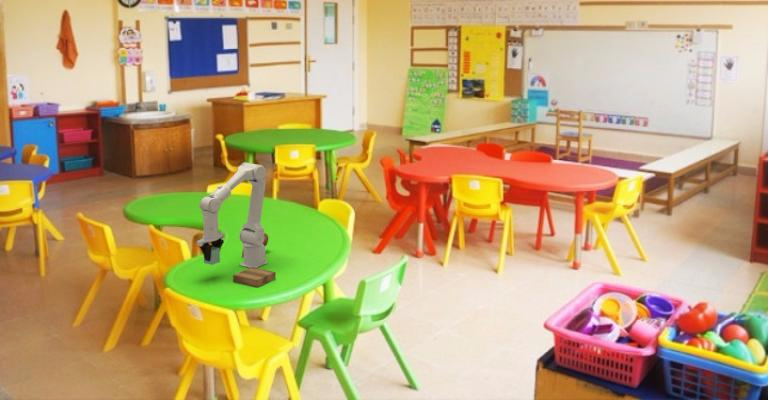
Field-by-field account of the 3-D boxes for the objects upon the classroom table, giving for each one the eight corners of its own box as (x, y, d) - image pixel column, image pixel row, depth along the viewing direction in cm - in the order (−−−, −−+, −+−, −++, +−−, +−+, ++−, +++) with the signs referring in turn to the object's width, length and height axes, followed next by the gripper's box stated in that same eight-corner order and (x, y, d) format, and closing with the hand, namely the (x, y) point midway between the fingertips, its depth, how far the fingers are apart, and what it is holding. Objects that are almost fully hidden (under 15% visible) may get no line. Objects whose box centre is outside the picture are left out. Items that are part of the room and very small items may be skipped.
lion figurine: (264, 249, 360) (263, 230, 358) (271, 252, 357) (271, 233, 355) (238, 256, 350) (237, 237, 347) (245, 259, 346) (245, 239, 344)
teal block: (211, 260, 323) (211, 246, 322) (220, 262, 321) (219, 247, 319) (203, 263, 319) (203, 248, 318) (212, 264, 317) (212, 250, 316)
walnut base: (252, 273, 328) (252, 266, 327) (275, 279, 322) (275, 272, 322) (233, 282, 318) (233, 274, 317) (256, 287, 312) (256, 280, 311)
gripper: (215, 221, 324) (216, 252, 328) (190, 229, 312) (191, 261, 315) (228, 223, 321) (229, 255, 324) (204, 231, 309) (205, 265, 312)
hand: (211, 258), depth 320 cm, fingers closed on teal block, 4 cm apart
